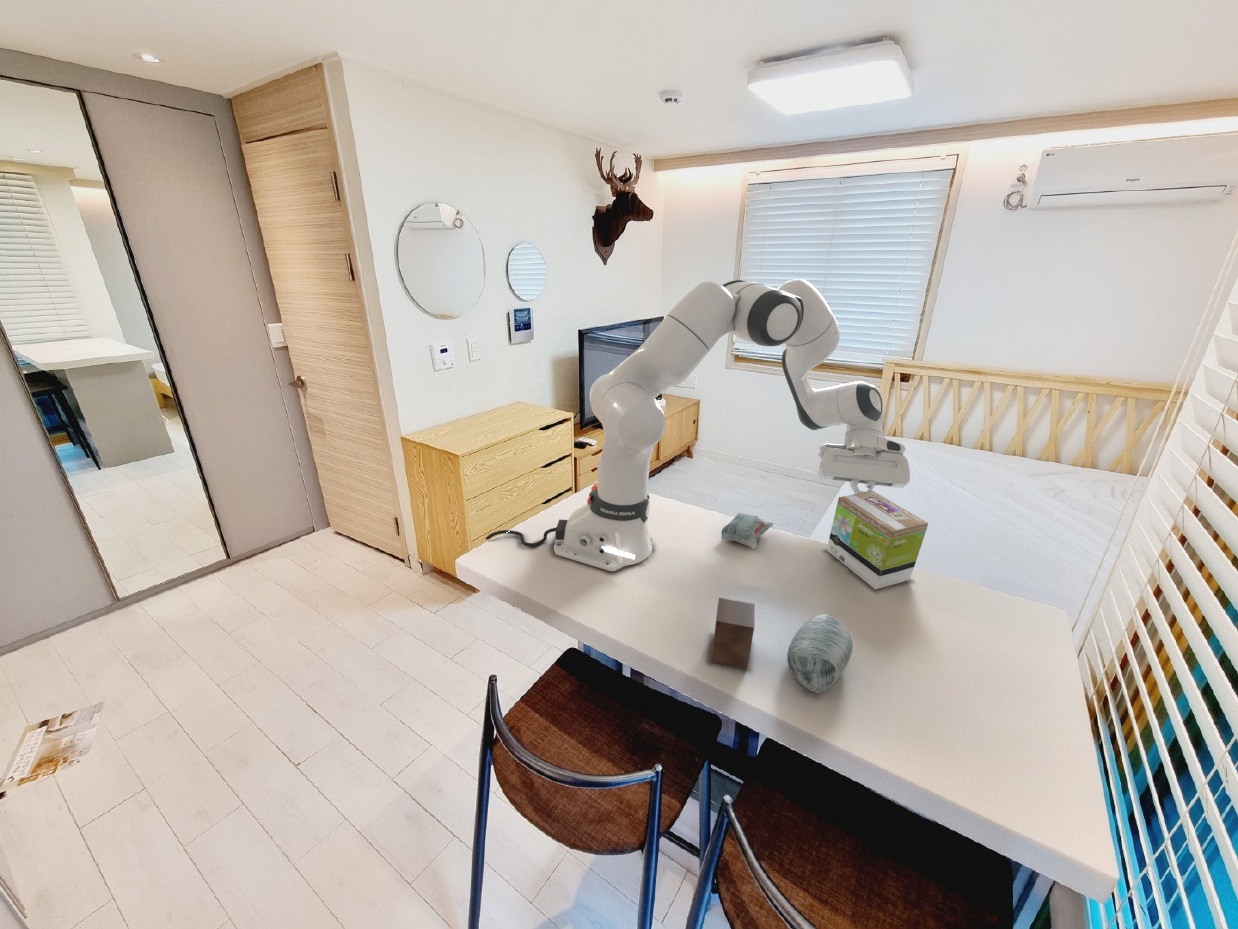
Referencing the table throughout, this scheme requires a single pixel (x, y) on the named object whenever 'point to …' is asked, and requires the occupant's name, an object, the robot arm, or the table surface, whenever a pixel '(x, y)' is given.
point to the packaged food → (745, 529)
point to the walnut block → (733, 633)
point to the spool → (819, 652)
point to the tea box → (876, 538)
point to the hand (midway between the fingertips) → (862, 499)
